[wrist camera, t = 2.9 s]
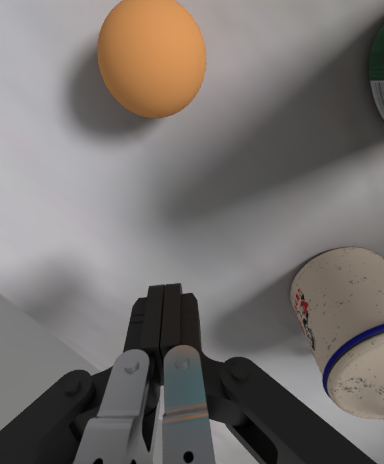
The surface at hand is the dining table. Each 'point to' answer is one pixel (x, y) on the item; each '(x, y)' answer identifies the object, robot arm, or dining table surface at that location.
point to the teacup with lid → (345, 325)
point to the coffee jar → (377, 70)
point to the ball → (151, 56)
